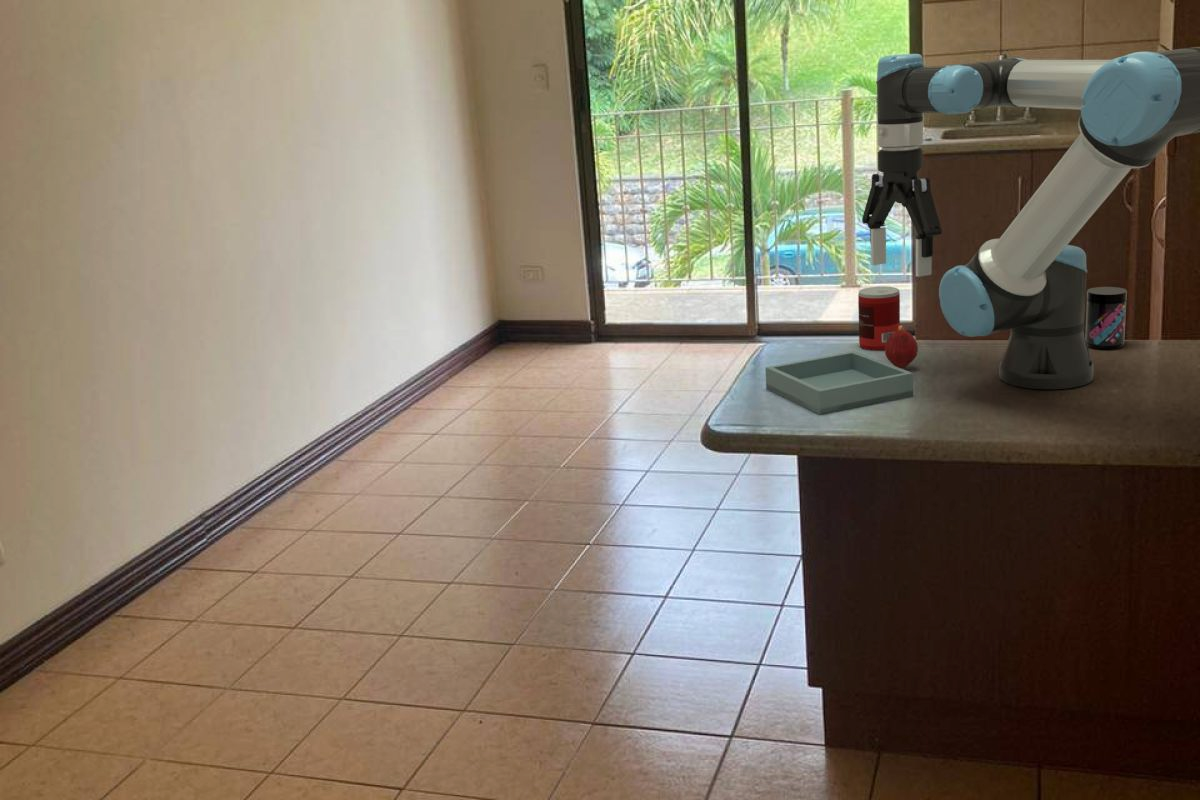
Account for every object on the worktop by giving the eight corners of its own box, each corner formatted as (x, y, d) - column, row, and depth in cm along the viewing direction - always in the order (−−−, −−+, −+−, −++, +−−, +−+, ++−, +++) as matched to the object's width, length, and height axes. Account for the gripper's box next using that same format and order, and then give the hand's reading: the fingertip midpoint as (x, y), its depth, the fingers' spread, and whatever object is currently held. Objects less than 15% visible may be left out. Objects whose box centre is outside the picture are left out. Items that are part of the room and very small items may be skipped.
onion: (918, 372, 216) (918, 329, 214) (885, 373, 217) (885, 330, 215) (917, 364, 221) (916, 321, 219) (884, 364, 223) (884, 322, 220)
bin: (913, 396, 203) (913, 373, 202) (819, 414, 197) (819, 391, 196) (854, 372, 219) (853, 351, 218) (766, 389, 213) (765, 367, 212)
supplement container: (1079, 348, 223) (1081, 293, 220) (1092, 339, 228) (1094, 285, 225) (1117, 352, 219) (1119, 295, 216) (1129, 343, 224) (1132, 288, 221)
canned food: (905, 342, 237) (905, 287, 234) (891, 352, 230) (891, 295, 227) (867, 339, 241) (867, 285, 238) (853, 349, 234) (852, 293, 231)
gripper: (841, 146, 218) (843, 262, 224) (925, 154, 195) (925, 283, 202) (877, 141, 220) (878, 257, 226) (964, 149, 198) (962, 277, 204)
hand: (900, 269), depth 214 cm, fingers open, 13 cm apart
